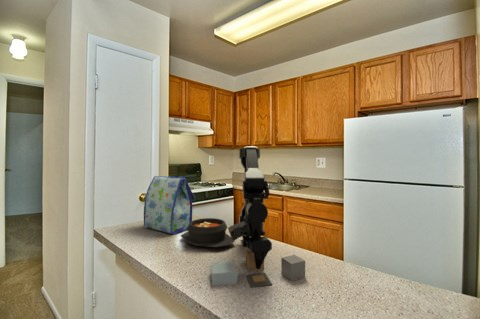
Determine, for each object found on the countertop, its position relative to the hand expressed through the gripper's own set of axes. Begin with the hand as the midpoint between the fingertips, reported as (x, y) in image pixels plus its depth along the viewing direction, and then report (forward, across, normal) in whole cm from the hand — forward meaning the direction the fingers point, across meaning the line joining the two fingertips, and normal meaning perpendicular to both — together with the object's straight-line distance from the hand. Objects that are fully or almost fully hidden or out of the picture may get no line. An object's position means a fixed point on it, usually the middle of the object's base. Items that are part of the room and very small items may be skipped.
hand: (254, 262), depth 80 cm
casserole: (+2, -26, -14) cm, 30 cm away
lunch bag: (+2, -50, -32) cm, 59 cm away
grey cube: (+1, +8, +10) cm, 13 cm away
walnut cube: (+1, 0, 0) cm, 1 cm away
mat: (+1, +9, -1) cm, 9 cm away
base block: (+2, +6, -11) cm, 12 cm away
